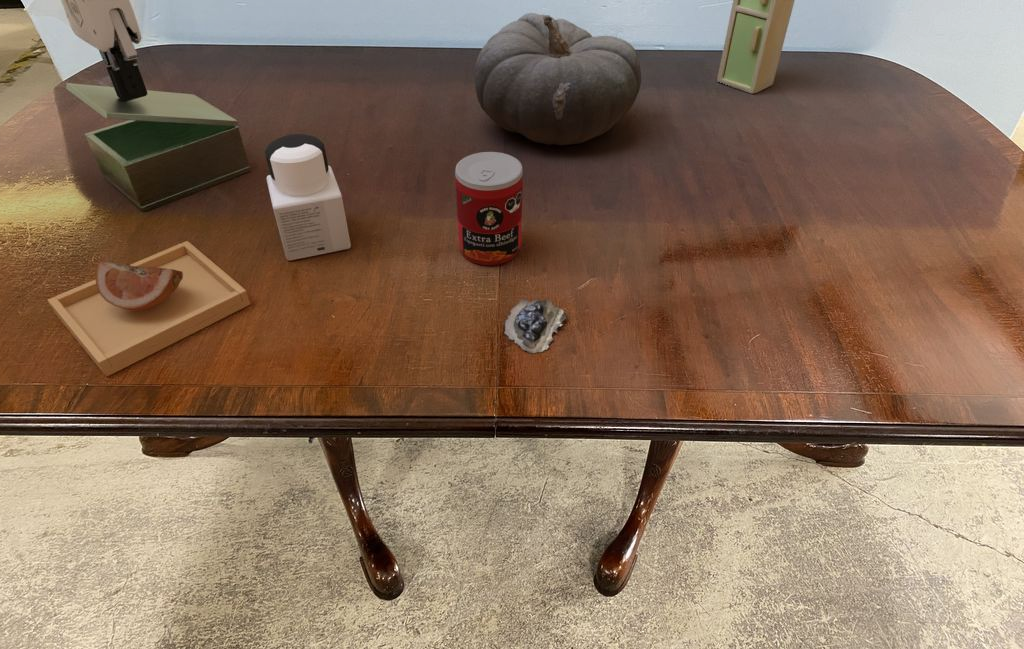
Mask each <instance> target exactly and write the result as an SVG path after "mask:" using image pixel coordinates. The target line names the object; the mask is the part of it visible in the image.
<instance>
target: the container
mask: <svg viewBox="0 0 1024 649" xmlns="http://www.w3.org/2000/svg"><path fill="white" fill-rule="evenodd" d="M325 147H326V146H325V143H324V142H323V141H322V140H320V138H318V137H316V136H314V135H310V134H304V133H303V134H302V133H294V134H287V135H284V136H281V137H279V138H276V139H274V140H272V141H271V142H270V143H268V145H267V146H266V148H265V150H264V155H265V158H266V163H267V167H268V171H269V174H268V175H267V176H266V183H267V187H268V192H269V196H270V201H271V206H272V210H273V214H274V218H275V222H276V225H277V229H278V233H279V237H280V240H281V245H282V249H283V252H284V255H285V256H284V257H285V259H286V260H287V261H295V260H301V259H305V258H310V257H315V256H320V255H325V254H329V253H330V254H331V253H335V252H340V251H345V250H349V249H350V248H351V246H352V245H351V239H350V234H349V229H348V222H347V217H346V212H345V211H346V210H345V206H344V201H343V195H342V192H341V189H340V187H339V184H338V181H337V180H336V179H337V178H336V177H335V174H334V171H333V168H332V166H330V165H329V162H328V157H327V153H326V148H325Z"/></svg>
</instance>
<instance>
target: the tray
mask: <svg viewBox="0 0 1024 649" xmlns="http://www.w3.org/2000/svg"><path fill="white" fill-rule="evenodd" d="M130 266H137V267H145V268H146V267H155V268H166V269H174V270H177V271H182V272H183V278H182V280H181V282H180V283H179V286H178V287H177V289H176V290H175V291H174V292H173V293H172V294H171V295H170V296H169V297H168V298H167V299H166V300H165V301H163V302H162V303H160V304H158V305H156V306H154V307H152V308H148V309H144V310H126V309H122V308H119V307H116V306H114V305H112V304H110V303H108V302H107V301H106V300H105V299H104V298H103V297H102V296H101V295H100V293H99V291H98V289H97V285H96V278H95V279H93V280H90V281H88V282H86V283H84V284H80V285H79V286H77V287H74V288H72V289H69V290H67V291H65V292H62V293H60V294H57V295H55V296H53V297H50V298H48V299H47V302H48V304H49V305H50V307H51V309H52V310H53V313H54V314H55V316H56V317H58V319H59V320H60V322H61V323H62V324H63V325H64V326H65V327H66V329H67V330H68V331H69V332H70V334H71V336H72V337H74V339H75V341H77V342H78V344H79V345H80V346H81V348H82V349H83V350H84V351H85V352H86V353H87V355H88V356H89V357H90V359H91V360H92V361H93V362H94V363H95V365H96V366H97V367H98V368H99V370H100V371H101V372H102V373H103V375H104V376H105V377H109V376H111V375H113V374H115V373H117V372H119V371H122V370H123V369H126V368H128V367H129V366H131V365H133V364H135V363H137V362H139V361H141V360H143V359H145V358H147V357H149V356H151V355H153V354H155V353H157V352H159V351H161V350H163V349H166V348H167V347H169V346H172V345H173V344H175V343H177V342H179V341H180V340H183V339H185V338H187V337H189V336H191V335H193V334H195V333H197V332H199V331H200V330H202V329H205V328H206V327H209V326H211V325H213V324H214V323H215V324H216V322H218V321H220V320H223V319H225V318H227V317H228V316H231V315H232V314H234V313H236V312H238V311H240V310H242V309H245V308H246V307H248V306H251V301H250V298H249V295H248V293H247V290H246V289H245V288H244V287H243V286H241V285H240V284H239V283H238V282H237V281H236V280H234V279H233V278H232V277H231V276H230V275H229V274H227V273H226V272H225V271H224V270H223V269H222V268H220V267H219V266H218V265H217V264H216V263H214V262H213V261H212V260H211V259H210V258H209V257H207V256H206V255H205V254H204V253H203V252H201V251H200V250H199V249H198V248H197V247H196V246H194V245H193V244H192V242H191V243H190V242H189V241H188V240H186V241H184V242H181V243H178V244H176V245H173V246H171V247H169V248H167V249H164V250H161V251H160V252H157V253H155V254H152V255H150V256H148V257H145V258H143V259H141V260H138V261H136V262H134V263H130Z"/></svg>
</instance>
